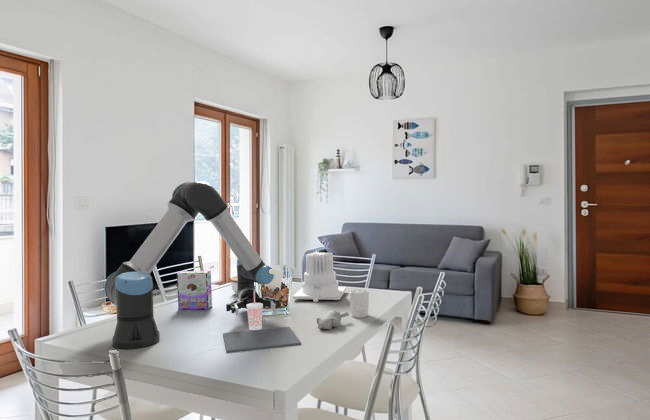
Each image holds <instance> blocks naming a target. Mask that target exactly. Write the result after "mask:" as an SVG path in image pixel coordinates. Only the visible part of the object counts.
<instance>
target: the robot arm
mask: <svg viewBox="0 0 650 420" xmlns="http://www.w3.org/2000/svg"><path fill="white" fill-rule="evenodd" d="M198 214H201V215H202V217H204V219H205V220H206V222H210V223H211V224H212V225H213V227H214V228H215V230H216V231H217V232H218V234H219V236H221V238H222V239H223V240H224V242H225V244H226V245H227V246H228V248H229V249H230V250H231V252H232V253H233V254H234V256H235V257H236V274H237V275H236V277H237V280H238V283H237V286H238V289H237V295H236V296H237V298H238V299H237V298H234V299H233V300H232V301H230V302H228V303H226V305H225V306H226V307H225V308H226V310H225V311H226V312H230V311H231V314H234V315H235V316H236V317H237V316H239V310H240V309H247V306H246V305H247V304H250V303H254V291H255V303H262V304H263V307H267V308H270V309H271V311H272V312H273V313H276V309H277V308H279V307H280V305H281V304H280V302H281V301H280V299H276V298H272V297H269V296H264V298H263V297H260V295H259V293H258V291H257V290H256V285H255V286H254V282H255V284H256V283H257V284H260V285H268V284H270V283H271V282H272V281H273V280H274V277H275V274H274V275H273V274H270V273H269V270H270V269H273V268H272V267H271V266H269V265H267V264H265V262H264V260H263V259H262V258H261V256H260V255H259V253H257V251H256V249H255V248H254V246H253V245H252V244H251V242H250V241H249V239H248V237H247V236H246V235H245V234H244V232H243V230H242V229H241V228H240V226H239V225H238V224H237V222H236V221H235V219H234V218H233V217H232V215H231V213H230V211H228V204H227V203H226V202H225V200H224V199H223V198H222V196H221V195H220V194H219V192H218V191H217V189H215V188H214V186H212V185H211V184H209V183H208V182H206V181H200V180H198V181H186V182H183V183H181V184H179V185H178V186H176V187H175V188H174V190H173V191H172V195H171V199H170V200H169V201H168V203H167V211H166V212H165V213H164V215H163V216H162V217H161V219H160V220H159V222H157V224H156V225H155V227H154V228H153V229H152V231H151V232H150V233H149V234H148V236H147V237H146V239H145V240H144V242H143V243H142V244H141V245H140V247H138V249H137V251H136V252H135V254H134V255H133V256H132V257H131V259H130V260H129V261H124V262H122V264H121V265H119V268H118V269H117V270H116V271H115V272H112V273H111V274H110V275H109V276H107V278H106V280H105V282H104V287H103V290H104V293H105V295H106V298H107V299H108V301H110V302H111V303H113V304H115V305H116V326H115V329H114V333H113V336H112V339H111V341H112V342H111V344H112V347H113V348H116V349H123V350H129V349H131V348H132V349H139V348H144V347H149V346H152V345H154V344H156V343H158V342H159V341H160V340H161V339H160V338H161V335H160V331H159V330H158V326H157V323H156V320H155V318H154V317H155V315H154V290H153V287H154V283H153V277H152V275H151V273H152V272H153V270H154V268H155V267H156V265H157V264H158V263H159V262H160V260H161V259H162V257H163V256H164V255H165V253H166V252H167V251H168V249H169V248H170V247H171V245H172V244H173V242H174V241H175V240H176V238H177V237H178V236H179V235H180V233H181V231H182V230H183V228H184V227H185V225H186V224H187V223H189V222H193V221H194V220H195V218H196V217H197V216H198Z"/></svg>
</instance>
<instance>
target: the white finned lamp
mask: <svg viewBox="0 0 650 420" xmlns="http://www.w3.org/2000/svg"><path fill="white" fill-rule="evenodd" d="M336 273H337V272H336V271H334V254H333V253H332V252H324V251H323V252H319V251H313V252H311V253H307V254H305V272H304V274H303V278H304V279H303V281H302V282H301V288H300V289H299V290H298V291H296V293H294V295H292V300H313V302H314V303H318V302H319V300H321V301H322V300H325V301H326V300H331V301H332V300H334V301H335V300H336V301H338V300H339V301H340V300H341V299H342V297H343V295H344V294H345V292H346V291H347V287H346V286H344V287H343V286H339V281H338V280H337V274H336Z"/></svg>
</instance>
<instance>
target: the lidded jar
mask: <svg viewBox="0 0 650 420" xmlns="http://www.w3.org/2000/svg"><path fill="white" fill-rule="evenodd" d="M237 283H238V280H237V276H235V277H232V278H230V284H231V285H230V287H231V290H232V291H233V293H234V294H235V295H236V296H237V289H238V286H237Z"/></svg>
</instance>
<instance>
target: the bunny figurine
mask: <svg viewBox="0 0 650 420" xmlns="http://www.w3.org/2000/svg"><path fill="white" fill-rule="evenodd" d="M349 315H350V314H349V313H348V311H343V312H341V313H340V312H339V311H336V310H327V311H325V314H324V315H322V316H318V317H316V324H317V326H318V327H317V328H318V329H320V330H328V331H331V330H333V328H335V327H341V326H342V325H341V324H342V323H341V321H342V318H345V317H349Z"/></svg>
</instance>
